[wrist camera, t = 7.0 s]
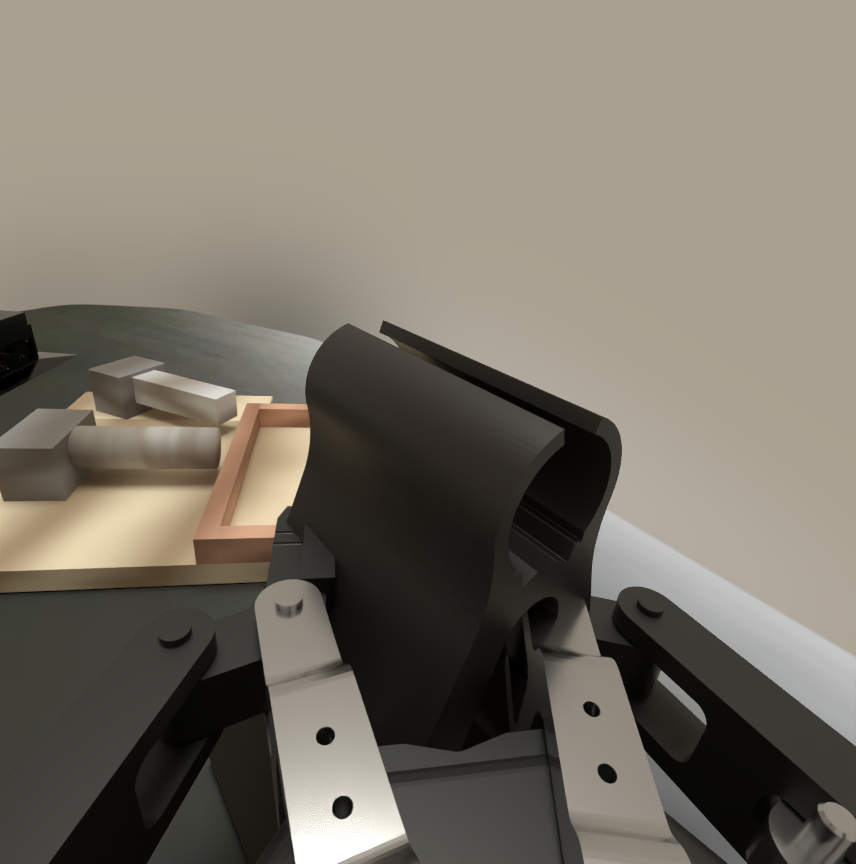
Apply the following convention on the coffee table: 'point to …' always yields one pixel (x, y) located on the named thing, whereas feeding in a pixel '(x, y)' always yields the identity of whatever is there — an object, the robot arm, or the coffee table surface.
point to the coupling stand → (147, 484)
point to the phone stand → (432, 539)
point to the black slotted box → (22, 352)
